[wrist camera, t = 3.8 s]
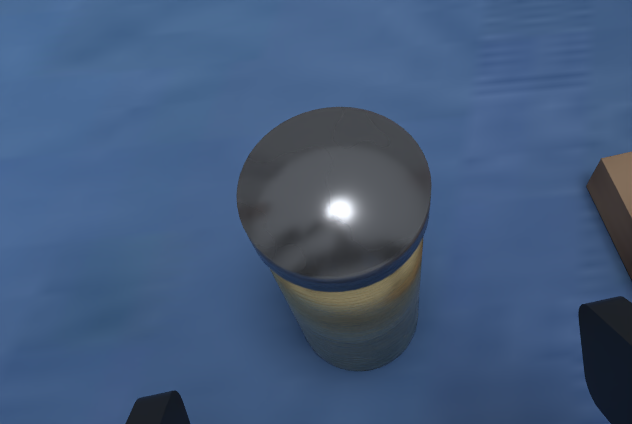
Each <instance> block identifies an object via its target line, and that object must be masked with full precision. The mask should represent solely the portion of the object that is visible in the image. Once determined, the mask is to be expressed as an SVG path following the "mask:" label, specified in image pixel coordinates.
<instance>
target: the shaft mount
mask: <svg viewBox="0 0 632 424" xmlns="http://www.w3.org/2000/svg"><path fill="white" fill-rule="evenodd" d="M587 188H588V190H589V193H590V195H591V197H592V199H593V201H594V203H595V205H596V207H597V209H598V211H599V213H600V215H601V217H602V220H603V222H604V224H605V226H606V228H607V230H608V232H609V234H610V236H611V238H612V240H613V242H614V244H615V247H616V249H617V251H618V253H619V255H620V257H621V259H622V261H623V263H624V265H625V267H626V269H627V271H628V274H629V276H630V278H631V280H632V152H628V153H624V154H619V155H615V156H610V157H606V158H601V160H600V162H599V164H598V165H597V167H596V169H595V171H594V173H593V175H592V176H591V178H590V180H589V182H588V184H587Z"/></svg>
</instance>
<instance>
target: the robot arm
mask: <svg viewBox="0 0 632 424" xmlns="http://www.w3.org/2000/svg"><path fill="white" fill-rule="evenodd" d="M579 326H580V335H581V345H582V354H583V364H584V373H585V379H586V383H587V386H588V389H589V392H590V394H591V396H592V399H593V401H594V402H595V404H596V406H597V407H598V408H599V410H600V411H601V412H602V413H603V415H604V416H605V417H606V418H607V419H608V421H609V422H610V423H611V424H632V303H631V302H630V301H628V300H627V299H626V298H624V297H621V296H619V297H614V298H610V299H605V300H600V301H596V302H591V303H586V304H582V305H581V306H580V308H579ZM126 424H190V421H189V418H188V415H187V412H186V409H185V406H184V403H183V401H182V398H181V396H180V394H179V393H178V392H177V391H170V392H165V393H161V394H156V395H151V396H147V397H142V398H139V399H137V400H136V402H135V404H134V406H133V409H132V411H131V413H130V415H129V417H128V419H127V422H126Z"/></svg>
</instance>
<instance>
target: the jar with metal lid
mask: <svg viewBox="0 0 632 424" xmlns="http://www.w3.org/2000/svg"><path fill="white" fill-rule="evenodd" d="M430 198H431V176H430V171H429V167H428V163H427V161H426V158H425V156H424V154H423V152H422V150H421V149H420V147H419V145H418V144H417V142H416V141H415V140H414V139H413V138H412V136H411V135H410V134H409V133H408V132H406V131H405V130H404V129H403V128H402V127H401V126H399V125H398V124H396V123H395V122H393V121H392V120H390V119H388V118H386V117H384V116H382V115H379V114H377V113H374V112H371V111H367V110H363V109H358V108H351V107H331V108H322V109H317V110H312V111H309V112H305V113H302V114H300V115H297V116H295V117H292V118H291V119H289V120H287V121H285V122H283V123H281V124H280V125H278V126H277V127H275V128H274V129H272V130H271V131H270V132H269V133H268V134H267V135H265V136H264V137H263V138H262V139H261V140H260V142H259V143H258V144H257V145H256V146H255V147H254V149H253V150H252V152H251V153H250V154H249V156H248V158H247V160H246V162H245V163H244V166H243V168H242V171H241V173H240V177H239V181H238V187H237V207H238V212H239V217H240V220H241V222H242V225H243V228H244V229H245V231H246V233H247V235H248V237H249V239H250V241H251V242H252V244H253V246H254V248H255V250H256V251H257V253H258V255H259V256H260V258H261V259H262V260H263V261H264V263H265V264H266V265H267V266H268V267H269V268H270V270H271V272H272V274H273V276H274V278H275V279H276V281H277V283H278V285H279V287H280V289H281V291H282V293H283V295H284V297H285V299H286V300H287V302H288V304H289V306H290V308H291V310H292V312H293V314H294V316H295V318H296V320H297V322H298V323H299V325H300V327H301V329H302V331H303V333H304V335H305V337H306V339H307V341H308V342H309V344H310V346H311V347H312V348H313V350H314V351H315V352H316V353H317V354H318V355H319V356H320V357H321V358H322V359H324V360H325V361H326V362H328V363H330V364H332V365H334V366H336V367H339V368H342V369H345V370H351V371H367V370H373V369H376V368H380V367H382V366H384V365H386V364H388V363H390V362H391V361H393V360H394V359H396V358H397V357H398V356H399V355H400V354H401V353H402V352H403V351H404V350H405V349H406V347H407V346H408V345H409V343H410V341H411V339H412V338H413V335H414V332H415V330H416V325H417V317H418V303H419V289H420V275H421V261H422V247H423V236H424V233H425V230H426V228H427V223H428V219H429V210H430Z"/></svg>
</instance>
